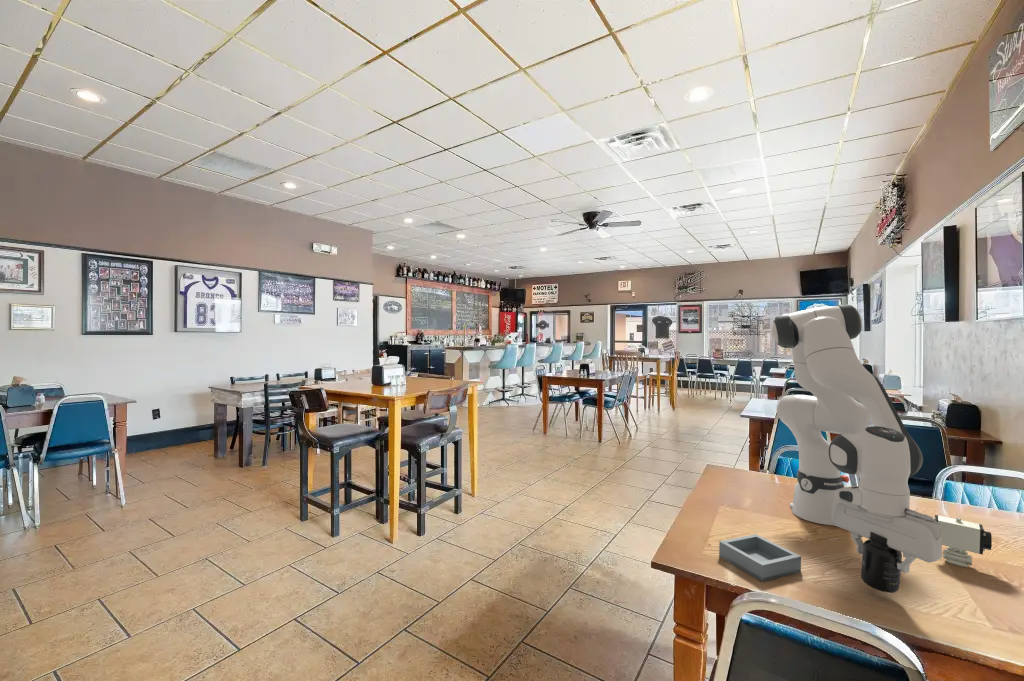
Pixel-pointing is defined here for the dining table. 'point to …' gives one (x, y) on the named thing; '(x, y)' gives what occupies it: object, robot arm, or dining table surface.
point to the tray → (760, 557)
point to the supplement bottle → (880, 564)
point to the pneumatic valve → (962, 540)
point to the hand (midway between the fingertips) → (881, 562)
